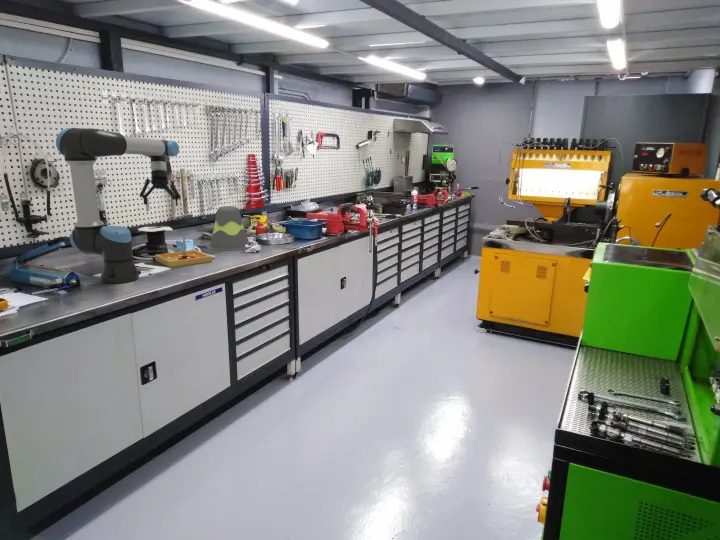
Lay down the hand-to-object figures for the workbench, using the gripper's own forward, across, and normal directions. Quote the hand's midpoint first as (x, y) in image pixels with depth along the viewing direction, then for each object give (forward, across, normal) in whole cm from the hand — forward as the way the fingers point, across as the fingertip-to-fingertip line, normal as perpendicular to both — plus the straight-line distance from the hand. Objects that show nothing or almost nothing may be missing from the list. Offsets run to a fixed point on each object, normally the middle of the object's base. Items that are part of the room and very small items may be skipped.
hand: (161, 211), depth 247 cm
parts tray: (+26, -8, +4) cm, 28 cm away
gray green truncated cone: (+16, -47, -20) cm, 54 cm away
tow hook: (+26, -11, +4) cm, 28 cm away
